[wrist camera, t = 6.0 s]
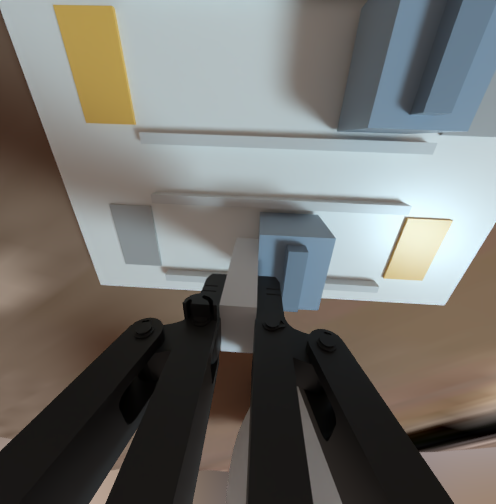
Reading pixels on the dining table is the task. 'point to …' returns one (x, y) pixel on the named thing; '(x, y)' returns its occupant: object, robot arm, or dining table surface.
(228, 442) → the dining table surface
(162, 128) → the switch board
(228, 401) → the dining table surface
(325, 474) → the pitcher
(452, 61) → the tab
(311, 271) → the tab
